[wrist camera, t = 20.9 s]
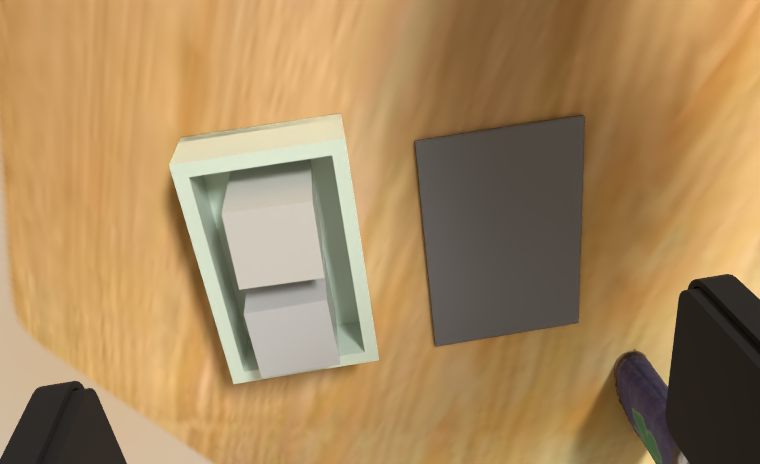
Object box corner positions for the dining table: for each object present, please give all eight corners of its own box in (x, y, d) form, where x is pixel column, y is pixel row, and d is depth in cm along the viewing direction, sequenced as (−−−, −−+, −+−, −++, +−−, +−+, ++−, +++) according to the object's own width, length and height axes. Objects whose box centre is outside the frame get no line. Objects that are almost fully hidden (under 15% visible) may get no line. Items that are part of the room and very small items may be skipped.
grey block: (323, 249, 41) (327, 300, 36) (335, 309, 43) (340, 364, 38) (249, 261, 41) (243, 314, 36) (265, 320, 43) (261, 378, 38)
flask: (668, 427, 53) (747, 548, 44) (632, 441, 53) (703, 563, 44) (644, 343, 49) (727, 457, 39) (605, 359, 49) (678, 475, 39)
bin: (340, 113, 38) (345, 138, 34) (372, 321, 45) (379, 360, 41) (180, 137, 37) (168, 165, 34) (238, 343, 45) (233, 384, 41)
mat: (582, 114, 39) (584, 116, 39) (576, 320, 47) (578, 322, 46) (414, 140, 39) (415, 142, 39) (435, 343, 46) (435, 346, 46)
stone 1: (310, 159, 38) (312, 201, 33) (321, 228, 40) (324, 277, 35) (230, 169, 38) (221, 213, 33) (245, 238, 40) (238, 289, 35)
